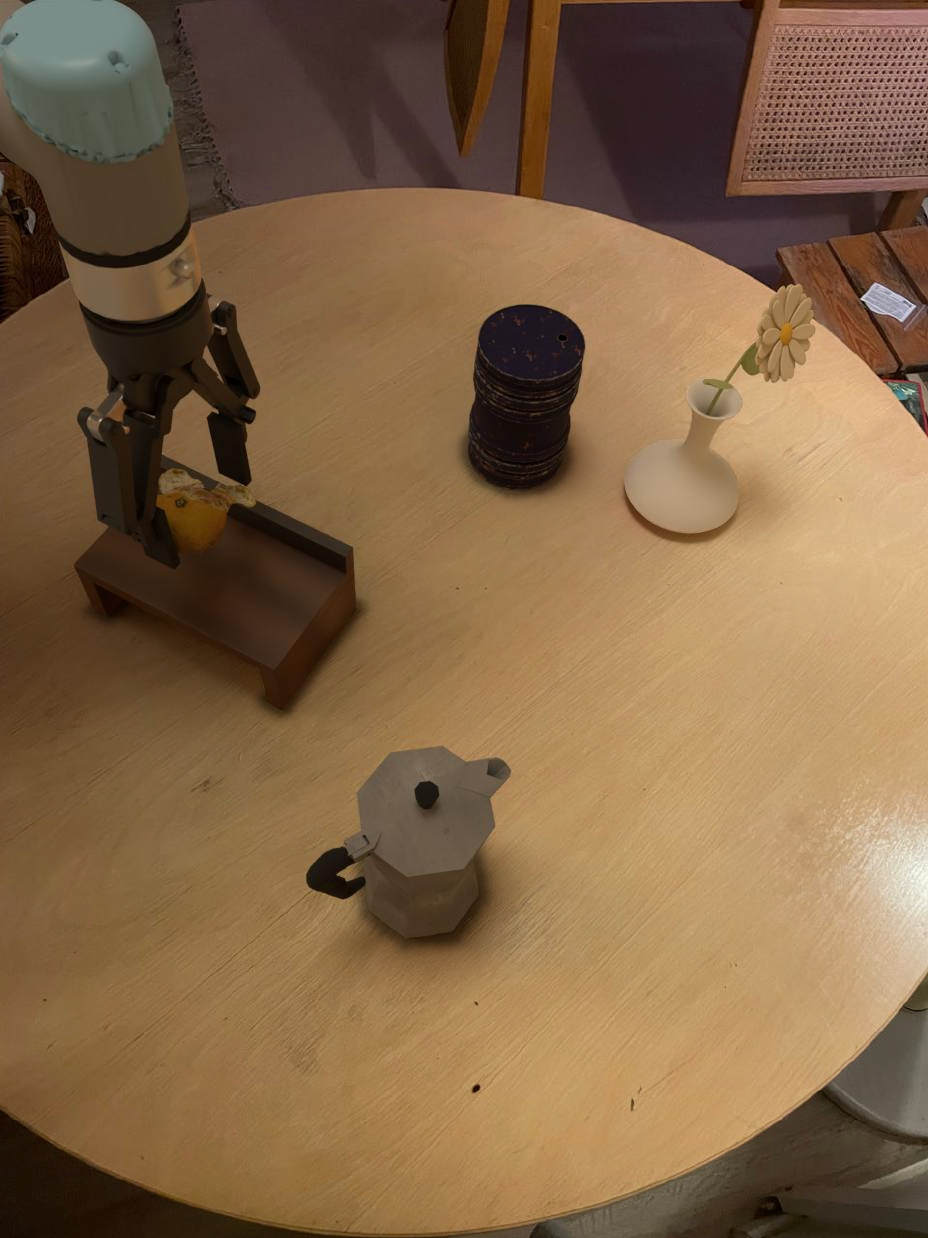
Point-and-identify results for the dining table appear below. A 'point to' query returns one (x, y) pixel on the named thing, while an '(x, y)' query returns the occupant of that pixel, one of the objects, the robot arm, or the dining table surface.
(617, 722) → the dining table surface
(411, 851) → the coffeepot
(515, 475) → the dark blue barrel
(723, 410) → the flower in vase
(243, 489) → the fruit
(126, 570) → the shelf
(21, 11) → the robot arm
